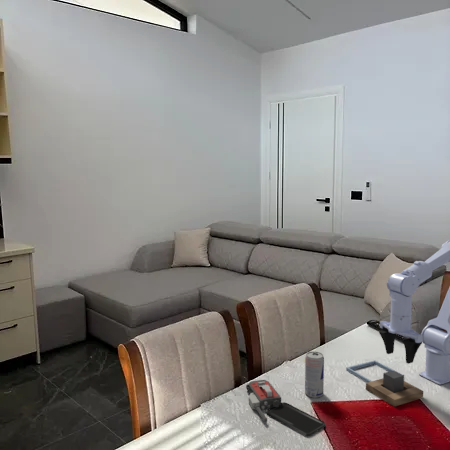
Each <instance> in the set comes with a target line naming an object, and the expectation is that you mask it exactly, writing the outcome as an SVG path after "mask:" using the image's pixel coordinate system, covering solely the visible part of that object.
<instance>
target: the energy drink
mask: <svg viewBox="0 0 450 450" xmlns="http://www.w3.org/2000/svg"><path fill="white" fill-rule="evenodd" d="M304 359H305V361H304V363H305V364H304V366H305V367H304V369H305V370H304V371H305V372H304V380H305V381H304V394H305V395H306V396H308V397H310V398H313V399H318V398H322V396H323V395H324V384H325V383H324V379H325V375H324V374H325V372H324V371H325V358H324V354H323V353H322V352H318V351H308V352H306V355H305V358H304Z"/></svg>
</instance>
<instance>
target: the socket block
mask: <svg viewBox="0 0 450 450" xmlns="http://www.w3.org/2000/svg"><path fill="white" fill-rule="evenodd" d="M371 381H372V382H368V383H367V382H365V390H366V391H368V392H370V393H371V394H373V395H374V396H376V397H377V398H380V399H381V400H383V401H384V402H386V403H387V404H389V405H391V406H392V407H398V406H401V405H405V404H407V403H411V402H413V401H417V400H420V399H423V398H424V390H422V389H420V388H418V387H417V386H414V385H413V384H411V383H409V382H407V381H406V380H404V390H403V391H400V392H397V393H393V392H391V391H390V390H388V389H386V388H384V387H383V377H382V378H380V379H376V380H371Z"/></svg>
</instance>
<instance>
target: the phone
mask: <svg viewBox="0 0 450 450" xmlns="http://www.w3.org/2000/svg"><path fill="white" fill-rule="evenodd" d="M265 412H266V413H265V414H266V416H268V417H270V418H272V419H274V420H275V421H277V422H279V423H281V424H283V425H284V426H286V427H288V428H289V429H291V430H293V431H296V432H297V434H300V435H302V436H304V437H309V438H310V437H312V436H313V435H315V434H316V433H317V432H319V431H321V430H323V429H325V428H326V422H325V421H322V420H321V419H319V418H316V417H315V416H313V415H311V414H309V413H307V412H305V411H304V410H302V409H300V408H298V407H295V406H293V405H292V404H290V403H288V402H282V401H281V405H279V406H278V407H272V408H268V409H266V411H265ZM324 427H325V428H324Z"/></svg>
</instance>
